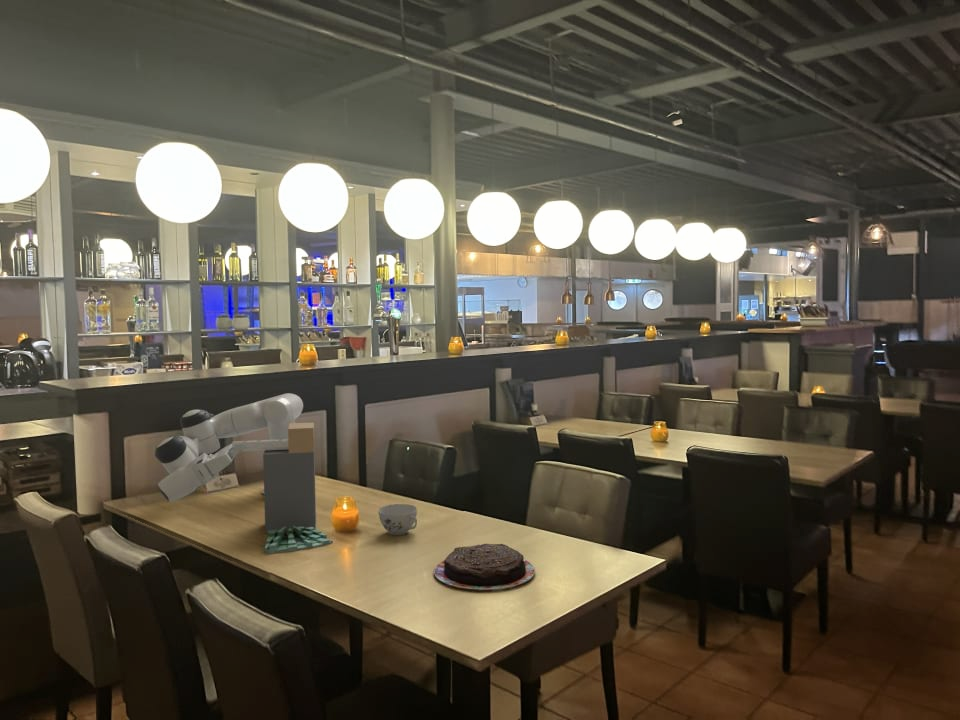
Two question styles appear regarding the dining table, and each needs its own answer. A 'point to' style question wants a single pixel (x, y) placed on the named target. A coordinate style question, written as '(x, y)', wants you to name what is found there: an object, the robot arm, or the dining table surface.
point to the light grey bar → (262, 445)
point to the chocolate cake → (484, 568)
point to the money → (295, 539)
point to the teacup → (398, 518)
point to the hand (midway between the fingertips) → (244, 444)
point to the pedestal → (291, 481)
